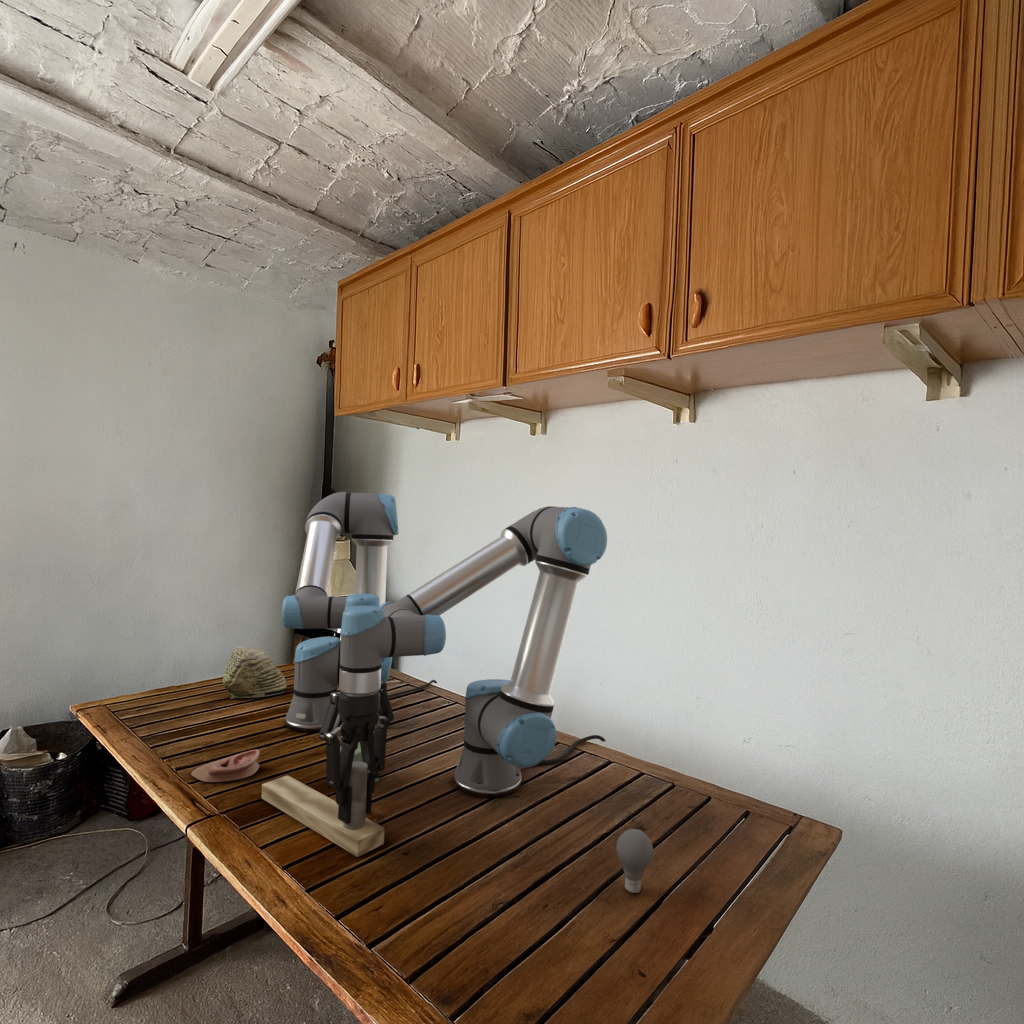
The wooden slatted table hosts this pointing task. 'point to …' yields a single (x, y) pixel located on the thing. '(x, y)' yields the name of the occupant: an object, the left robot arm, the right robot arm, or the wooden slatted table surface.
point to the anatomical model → (229, 768)
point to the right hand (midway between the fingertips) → (354, 815)
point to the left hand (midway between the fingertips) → (356, 761)
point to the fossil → (252, 674)
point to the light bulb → (634, 857)
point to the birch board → (329, 811)
